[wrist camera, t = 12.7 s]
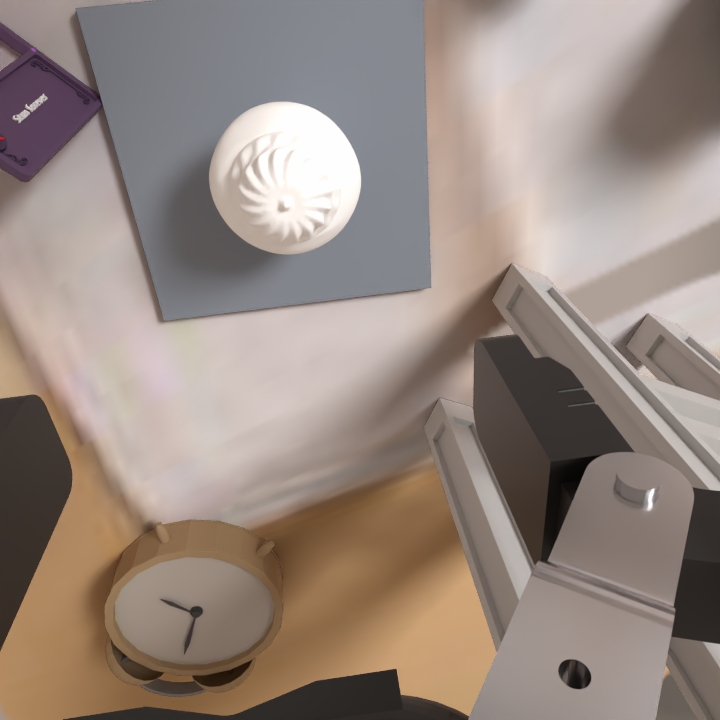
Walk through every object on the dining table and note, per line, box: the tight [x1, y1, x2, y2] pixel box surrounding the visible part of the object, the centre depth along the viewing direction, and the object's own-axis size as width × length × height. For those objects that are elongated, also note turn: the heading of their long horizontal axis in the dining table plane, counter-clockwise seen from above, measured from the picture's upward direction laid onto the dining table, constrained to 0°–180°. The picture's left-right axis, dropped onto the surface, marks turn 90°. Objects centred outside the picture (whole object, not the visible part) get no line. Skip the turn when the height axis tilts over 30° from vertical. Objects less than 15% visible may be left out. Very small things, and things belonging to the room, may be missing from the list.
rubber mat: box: [75, 0, 431, 321], centre depth 28 cm, size 14×14×1 cm
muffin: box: [209, 102, 361, 255], centre depth 25 cm, size 6×6×7 cm
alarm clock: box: [104, 520, 283, 697], centre depth 41 cm, size 11×5×15 cm
